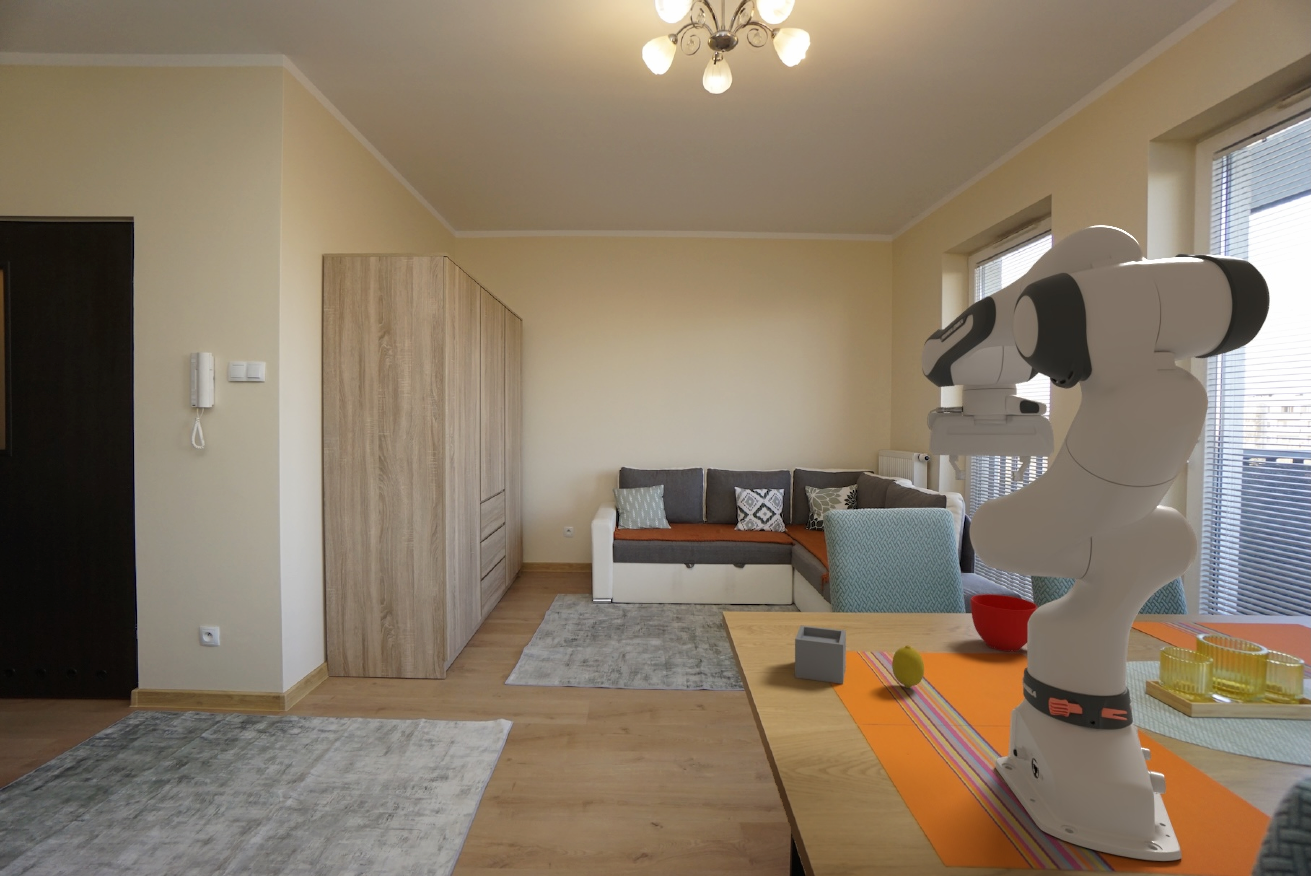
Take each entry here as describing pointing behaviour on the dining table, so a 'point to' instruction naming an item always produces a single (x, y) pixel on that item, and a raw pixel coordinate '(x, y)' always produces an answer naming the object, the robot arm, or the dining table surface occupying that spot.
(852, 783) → the dining table surface
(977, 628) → the red bowl
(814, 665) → the grey open box
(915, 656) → the lemon
